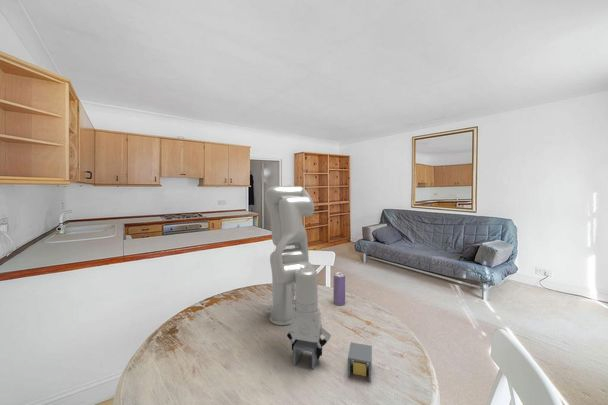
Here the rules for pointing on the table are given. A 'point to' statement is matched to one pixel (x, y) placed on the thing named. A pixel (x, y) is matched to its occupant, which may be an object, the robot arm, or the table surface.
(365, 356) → the right cover
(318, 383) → the table surface
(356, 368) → the cube
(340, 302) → the beverage can
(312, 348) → the left cover
